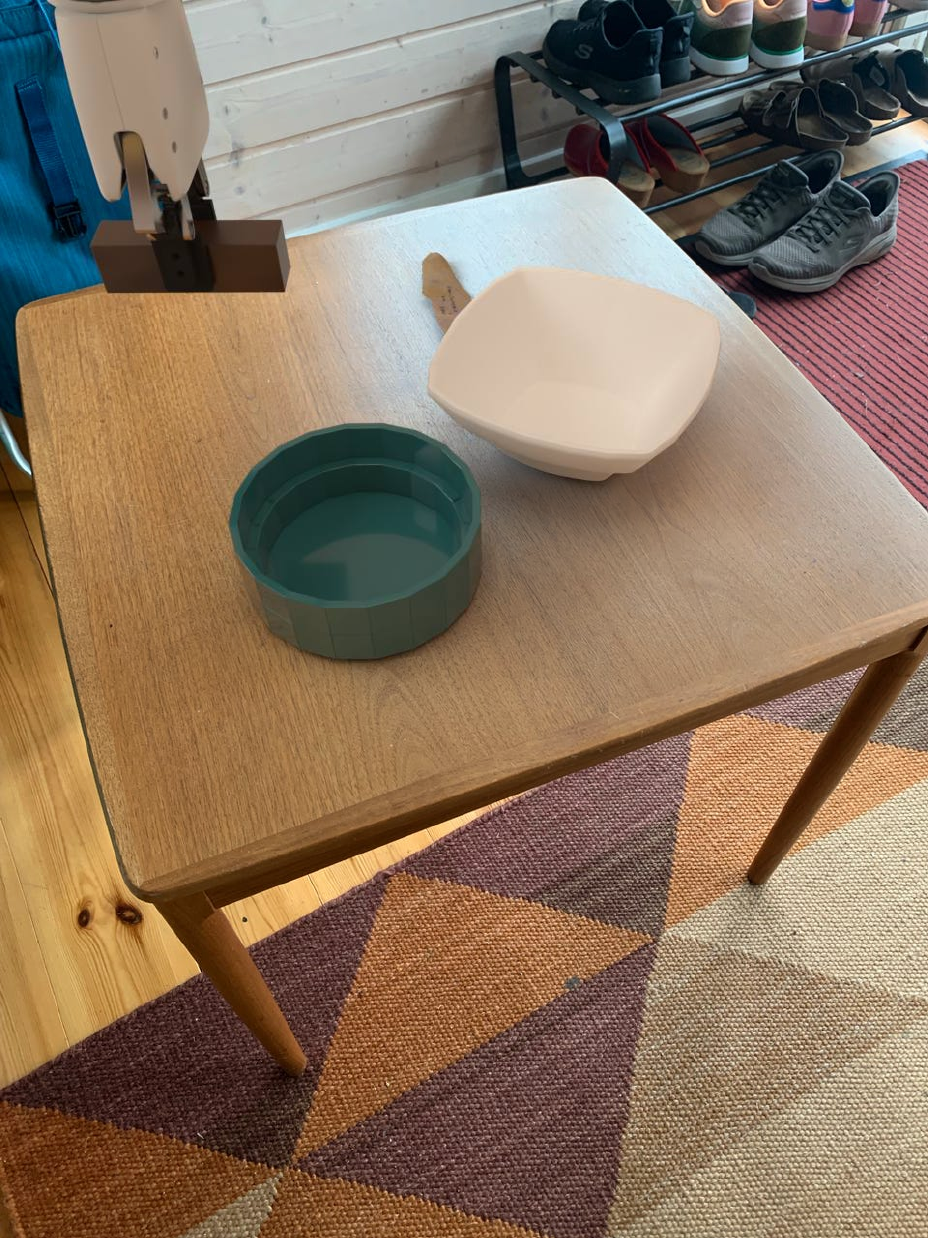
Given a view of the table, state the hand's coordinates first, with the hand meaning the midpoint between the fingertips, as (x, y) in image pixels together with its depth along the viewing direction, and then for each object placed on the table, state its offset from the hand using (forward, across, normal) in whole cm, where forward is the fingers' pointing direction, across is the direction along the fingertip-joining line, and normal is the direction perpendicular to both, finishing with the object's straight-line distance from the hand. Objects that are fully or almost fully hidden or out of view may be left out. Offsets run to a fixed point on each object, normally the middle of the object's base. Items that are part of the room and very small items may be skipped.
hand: (195, 270), depth 62 cm
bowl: (+17, -2, +26) cm, 32 cm away
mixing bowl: (+17, +12, +11) cm, 23 cm away
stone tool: (+17, -20, +16) cm, 31 cm away
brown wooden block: (+1, 0, 0) cm, 1 cm away
